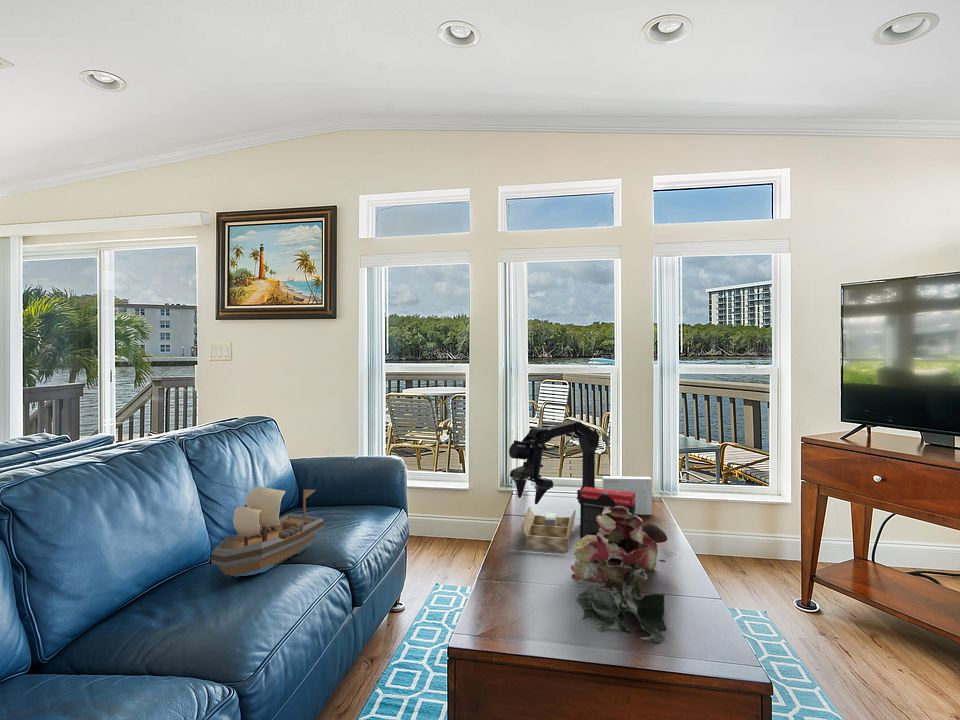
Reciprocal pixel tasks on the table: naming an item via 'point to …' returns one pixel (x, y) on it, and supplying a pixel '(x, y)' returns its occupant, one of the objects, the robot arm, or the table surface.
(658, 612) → the rose bouquet
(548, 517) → the box
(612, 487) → the skincare box
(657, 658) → the table surface
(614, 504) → the graphics card box
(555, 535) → the wooden cubby shelf
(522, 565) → the table surface
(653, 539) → the decorative mushroom
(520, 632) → the table surface
